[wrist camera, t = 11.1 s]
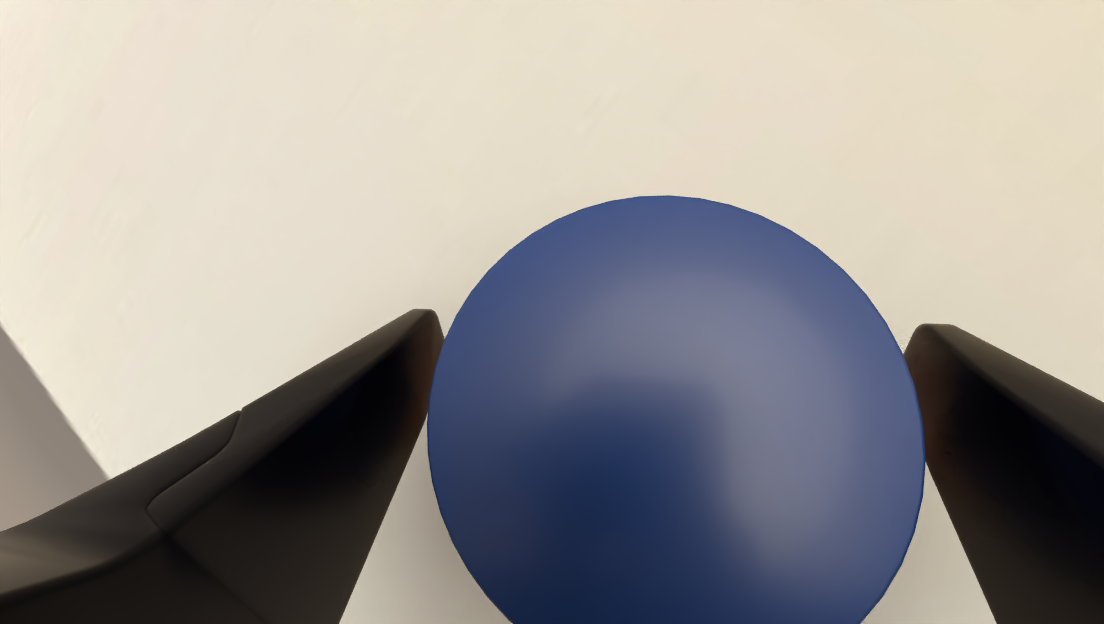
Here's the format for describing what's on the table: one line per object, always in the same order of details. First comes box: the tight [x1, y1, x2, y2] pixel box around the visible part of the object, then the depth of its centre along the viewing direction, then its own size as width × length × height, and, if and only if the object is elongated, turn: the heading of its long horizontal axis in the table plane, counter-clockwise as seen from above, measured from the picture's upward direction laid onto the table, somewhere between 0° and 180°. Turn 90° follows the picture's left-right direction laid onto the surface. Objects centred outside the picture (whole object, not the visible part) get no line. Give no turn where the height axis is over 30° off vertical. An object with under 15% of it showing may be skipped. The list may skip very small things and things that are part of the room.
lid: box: [427, 196, 926, 624], centre depth 7 cm, size 7×7×2 cm
